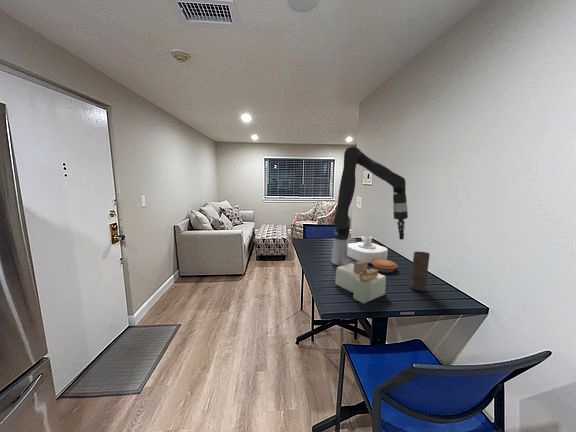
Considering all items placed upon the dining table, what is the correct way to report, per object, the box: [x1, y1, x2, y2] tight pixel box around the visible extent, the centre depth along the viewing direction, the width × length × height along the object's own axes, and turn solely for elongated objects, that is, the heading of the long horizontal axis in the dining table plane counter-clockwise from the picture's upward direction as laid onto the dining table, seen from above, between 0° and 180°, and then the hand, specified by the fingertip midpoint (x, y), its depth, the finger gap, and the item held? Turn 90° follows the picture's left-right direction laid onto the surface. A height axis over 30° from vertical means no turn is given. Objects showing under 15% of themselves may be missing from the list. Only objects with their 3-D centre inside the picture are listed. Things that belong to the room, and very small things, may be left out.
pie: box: [371, 259, 398, 273], centre depth 160 cm, size 15×16×5 cm
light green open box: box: [334, 269, 387, 305], centre depth 129 cm, size 22×16×10 cm
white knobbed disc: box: [347, 235, 389, 264], centre depth 183 cm, size 25×25×16 cm
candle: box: [409, 251, 430, 291], centre depth 131 cm, size 8×7×20 cm
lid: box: [336, 260, 386, 284], centre depth 129 cm, size 22×11×6 cm, turn 36°
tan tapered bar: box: [359, 268, 379, 281], centre depth 120 cm, size 3×10×4 cm, turn 126°
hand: (401, 237), depth 150 cm, fingers open, 8 cm apart
